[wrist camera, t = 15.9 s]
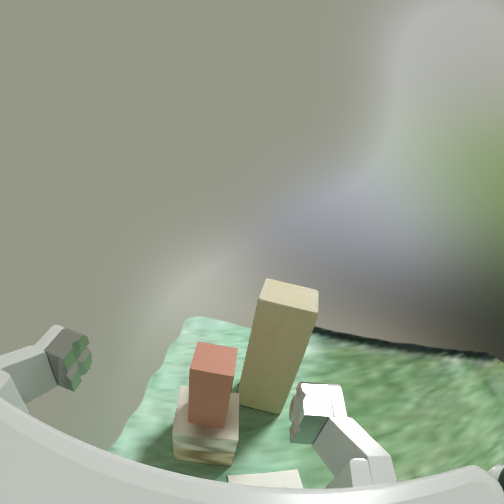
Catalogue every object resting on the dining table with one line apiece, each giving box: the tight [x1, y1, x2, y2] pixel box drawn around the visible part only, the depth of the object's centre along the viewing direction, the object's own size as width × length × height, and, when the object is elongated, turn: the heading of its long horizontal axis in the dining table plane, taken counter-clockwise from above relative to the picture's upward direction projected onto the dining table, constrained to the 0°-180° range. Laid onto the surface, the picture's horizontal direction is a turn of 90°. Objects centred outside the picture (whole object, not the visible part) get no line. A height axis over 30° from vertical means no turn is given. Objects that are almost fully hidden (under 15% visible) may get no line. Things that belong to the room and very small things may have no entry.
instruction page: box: [227, 469, 303, 489], centre depth 29 cm, size 10×8×1 cm
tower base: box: [172, 386, 239, 466], centre depth 35 cm, size 8×8×8 cm
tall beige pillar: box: [237, 278, 318, 414], centre depth 44 cm, size 8×7×21 cm
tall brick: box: [188, 342, 238, 429], centre depth 32 cm, size 4×4×10 cm
